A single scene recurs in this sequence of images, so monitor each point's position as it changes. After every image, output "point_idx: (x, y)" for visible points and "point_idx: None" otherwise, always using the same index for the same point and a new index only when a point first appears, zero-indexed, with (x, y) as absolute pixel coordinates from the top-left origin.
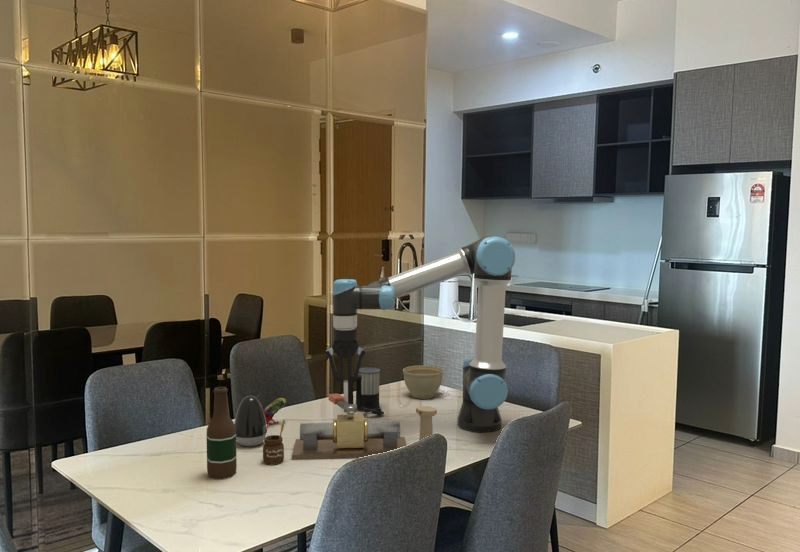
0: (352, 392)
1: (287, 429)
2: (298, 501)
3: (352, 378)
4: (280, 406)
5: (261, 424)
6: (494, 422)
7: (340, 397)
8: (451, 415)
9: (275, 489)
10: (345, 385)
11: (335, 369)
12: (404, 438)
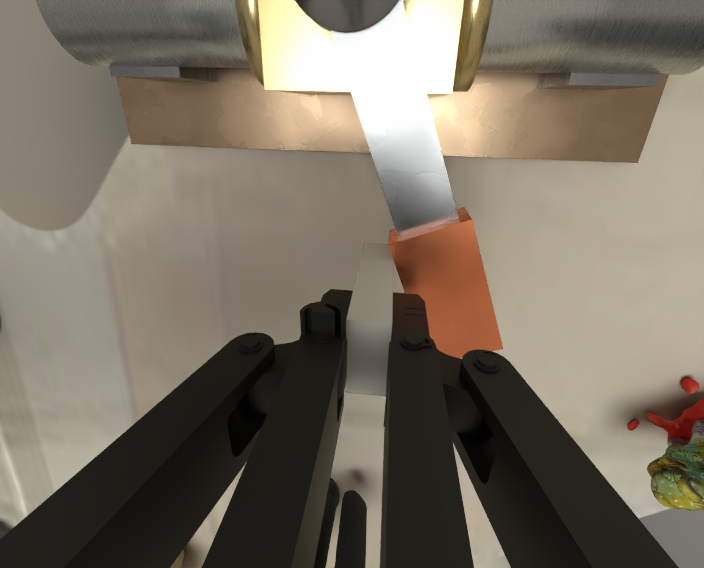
0: (340, 537)
1: (612, 348)
2: None
3: (286, 358)
4: (676, 460)
5: None
6: None
7: (421, 253)
8: (41, 395)
9: None
10: (374, 305)
11: (534, 468)
12: (127, 119)
